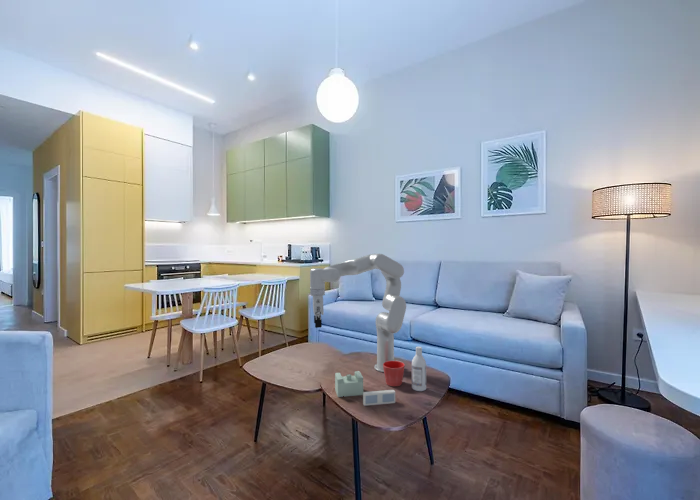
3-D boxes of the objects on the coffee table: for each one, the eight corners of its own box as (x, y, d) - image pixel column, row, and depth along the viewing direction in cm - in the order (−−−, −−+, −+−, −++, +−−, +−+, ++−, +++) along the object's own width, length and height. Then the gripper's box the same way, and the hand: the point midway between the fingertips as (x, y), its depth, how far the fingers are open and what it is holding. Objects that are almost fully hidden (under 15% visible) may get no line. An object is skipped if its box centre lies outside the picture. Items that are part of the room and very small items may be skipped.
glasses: (393, 400, 141) (393, 389, 141) (395, 403, 138) (395, 392, 138) (363, 403, 139) (362, 392, 139) (364, 406, 136) (364, 394, 136)
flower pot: (379, 381, 161) (379, 362, 161) (397, 377, 166) (397, 359, 166) (389, 389, 152) (389, 369, 152) (408, 385, 156) (408, 366, 156)
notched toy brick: (359, 387, 154) (359, 371, 154) (363, 394, 146) (363, 377, 146) (335, 389, 152) (335, 372, 152) (337, 397, 144) (337, 379, 144)
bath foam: (419, 384, 158) (419, 344, 158) (429, 389, 151) (429, 348, 151) (408, 387, 154) (408, 346, 154) (418, 392, 148) (418, 350, 148)
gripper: (326, 294, 156) (326, 329, 156) (323, 289, 173) (323, 321, 173) (311, 294, 154) (311, 329, 154) (309, 290, 171) (309, 321, 171)
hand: (317, 325), depth 164 cm, fingers open, 9 cm apart
